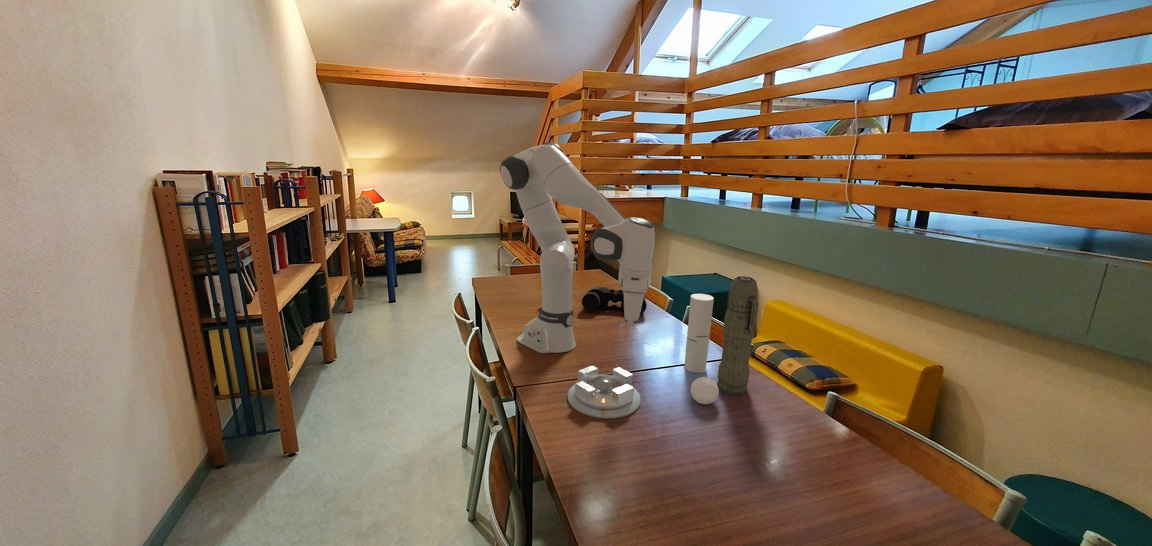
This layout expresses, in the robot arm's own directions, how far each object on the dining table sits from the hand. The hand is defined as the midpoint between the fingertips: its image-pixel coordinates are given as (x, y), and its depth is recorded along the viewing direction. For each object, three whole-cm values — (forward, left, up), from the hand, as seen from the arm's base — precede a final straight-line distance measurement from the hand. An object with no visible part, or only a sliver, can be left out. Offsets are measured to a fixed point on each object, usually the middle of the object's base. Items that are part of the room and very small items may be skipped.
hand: (630, 324), depth 129 cm
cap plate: (-4, -6, -22) cm, 23 cm away
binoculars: (-42, +67, -23) cm, 82 cm away
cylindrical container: (+10, +30, -23) cm, 39 cm away
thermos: (+24, +24, -23) cm, 41 cm away
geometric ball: (+20, +10, -23) cm, 32 cm away
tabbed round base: (-4, -6, -21) cm, 22 cm away
